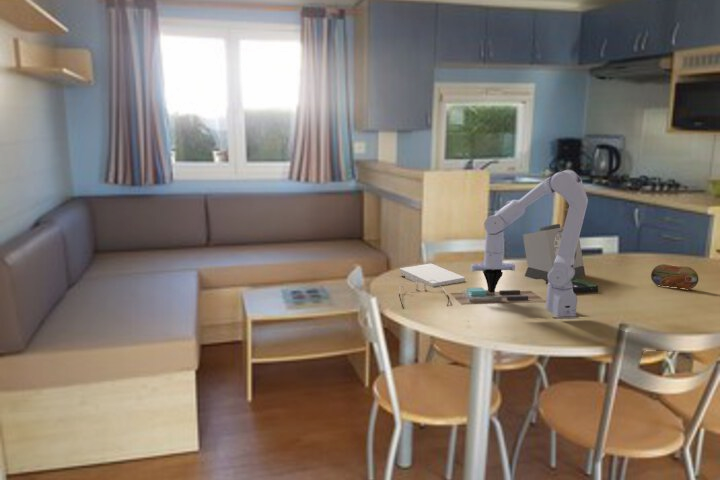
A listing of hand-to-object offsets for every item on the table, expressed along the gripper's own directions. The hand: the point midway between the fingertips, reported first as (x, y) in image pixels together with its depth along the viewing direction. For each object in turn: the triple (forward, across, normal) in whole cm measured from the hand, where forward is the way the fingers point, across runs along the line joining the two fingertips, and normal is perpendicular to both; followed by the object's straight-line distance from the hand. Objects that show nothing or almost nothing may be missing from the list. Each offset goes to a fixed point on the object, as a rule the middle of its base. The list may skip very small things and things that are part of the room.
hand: (491, 291), depth 186 cm
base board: (+3, -2, 0) cm, 4 cm away
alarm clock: (+3, -36, -28) cm, 46 cm away
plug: (+2, +5, 0) cm, 5 cm away
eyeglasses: (+4, +22, -2) cm, 23 cm away
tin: (+4, -73, -9) cm, 74 cm away
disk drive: (+4, -34, -10) cm, 36 cm away
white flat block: (+4, +13, -26) cm, 29 cm away
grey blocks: (+2, -8, 0) cm, 8 cm away
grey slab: (+2, +4, 0) cm, 4 cm away
